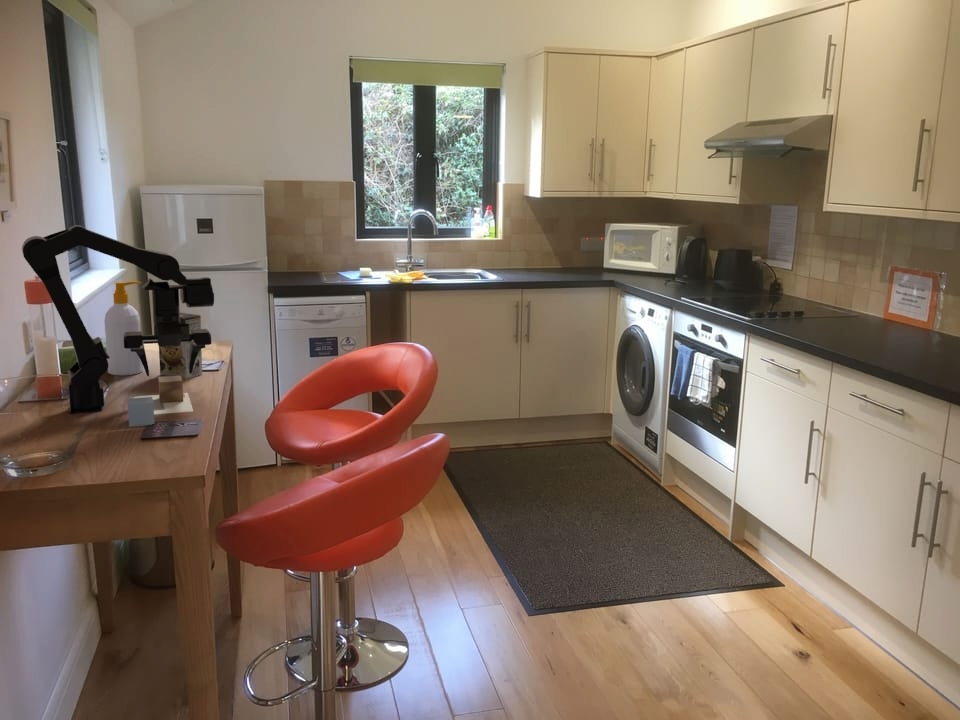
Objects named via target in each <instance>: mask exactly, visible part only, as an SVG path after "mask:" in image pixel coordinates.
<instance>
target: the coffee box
mask: <svg viewBox="0 0 960 720" xmlns="http://www.w3.org/2000/svg"><path fill="white" fill-rule="evenodd" d="M184 323H188V324H189V333H191V330H192V329H202V324H201V323H202V321H201V315H200V314H193V313H186V312H180V324H184ZM190 342H192V341H187V342H181V345H180V346H165V347H160V346H158V355H159V356H158V357H159V358H158V359H159V375H161V376H164V377H166V376H181V378H182V379H190V378H195V377H199V376H202V375H203V357H202V351H203V350H202V349H201V350H200V351H199V353H198V355H197V357H196V360H195V363H194V367H193V370H192V373H191V374H189V356H190ZM201 374H202V375H201ZM198 375H199V376H198Z"/></svg>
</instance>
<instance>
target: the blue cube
mask: <svg viewBox="0 0 960 720" xmlns="http://www.w3.org/2000/svg"><path fill="white" fill-rule="evenodd" d="M126 400H127V401H126V402H127V403H126V404H127V417H128V418H127V419H128V427H140V426H141V427H143V426H151V425H152V424H154V425H155V414H154V407H153V399H152V397H144V398H134V397H132V398H126Z"/></svg>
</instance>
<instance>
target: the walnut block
mask: <svg viewBox="0 0 960 720" xmlns="http://www.w3.org/2000/svg"><path fill="white" fill-rule="evenodd" d="M157 378H158V395H159V398H160V403H169V402H182V401H183V393H184V388H183V385H184V384H183V378H181V376H158V377H157Z"/></svg>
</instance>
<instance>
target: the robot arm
mask: <svg viewBox="0 0 960 720" xmlns="http://www.w3.org/2000/svg"><path fill="white" fill-rule="evenodd" d="M78 246H81V247H84V248H87V249H90V250H92V251H94V252H95V251H96V252H98V253H102V254H104V255H107V256H110V257H113V258H115V259H117V260H120V261H123V262H126V263H129V264H132V265H134V266H136V267H138V268H139V269H141V270H143V271H145V272H146V273H149V274H150V275H152V276H153V277H156V278H157V279H159V280H161V281H154V280H153V279H152V278H151V277H150V278H148V279H147V281H146V282H145V283H144V284H143V285H142V286H141V287H142V289H143V290H145V291H151V298H152V301H151V302H152V316H153V317H152V318H153V334H147V335H146V334H143V333H142V331H141V332H125V333H124V335H123V338H124V348H126V349H129V348H130V350H131V352H136V353H137V355H138V356H139V358H140V360H141V362H142V364H143V370H144V372H145V374H146V376H147V377H150V369H149V363H148V358H147V354H146V349H145V344H157V346H158V347H159V346H160V347H165V346H180V345H181V342H187V341H192V342H190V356H189V374H191V373H192V370H193V367H194V363H195V360H196V357H197V355H198V353H199V351H200V350H201V351H202V349H206V346H209V345H212V336H211V332H210V331H209V330H208V329H207V328H201V329H192V330H191V333H189V324H188V323H184V324H180V313H181V310H180V302H181V304H185V306H186V308H188V309H189V308H203V307H205V308H206V307H208V308H209V307H213V306H214V304H215V293H214V290H213V289H214V288H213V285H212V279H211V277H209V276H204V277H203V276H202V277H200V278H187V276H185V274H183V273H182V272H181V270H180V264H179V261H178V260H177V259H176V258H175V257H174V256H173V255H170V254H168V253H167V252H161V251H157V250H152V249H148V248H147V249H145V248H139V247H135V246H133V245H131V244H128V243H126V242H123V241H120V240H117V239H114V238H111V237H108V236H106V235H103V234H102V233H101V234H100V233H98V232H95V231H92V230H89V229H87V228H86V227H84V226H83V225H79V224H75V225H72V226H70V227H68V228H67V229H64V230H60V231H57V232H54V233H51V234H48V235H46V236H41V235H40V236H39V235H34V236H30V237H28V238H26V240H25V241H23V243H22V246H21V252H22V256H23V258H24V259H25V261H26V262H27V263H28V265H29V266H30V267H31V269H32V270H33V272H34V273H35V274H36V276H37V277H38V278H39V280H40V281H41V282H42V283H43V285H44V287H45V289H46V291H47V292H48V295H49V297H50V299H51V301H52V302H53V305H54V307H55V309H56V311H57V313H58V315H59V317H60V319H61V321H62V323H63V325H64V327H65V329H66V331H67V332H68V335H69V338H70V340H71V342H72V347H73V350H74V351H73V352H74V354H75V357H76V361H75V362H74V364H72V366H70V367H69V369H67V374H68V376H69V379H70V380H69V381H68V383H67V384H68V385H67V386H68V397H69V398H68V399H69V414H80V413H82V414H83V413H90V412H93V413H94V412H102V411H103V407H105V395H104V394H105V393H104V392H105V391H104V386H103V385H101V377H102V376H103V375H105V374H106V373H107V372H108V361H107V359H109V358H110V357H109V355H108V354H107V351H106V350H105V348H104V344H103V342H102V340H101V338H100V336H97V337H96V338H93V337H92V336H91V335H90V333H89V331H88V330H87V328H86V326H85V324H84V322H83V319H82V317H81V315H80V314H79V312H78V309H77V308H76V306H75V304H74V302H73V299H72V297H71V295H70V293H69V291H68V289H67V287H66V285H65V283H64V281H63V278H62V277H61V276H62V275H61V273H60V268H59V264H58V260H57V256H59V255H61V254H64V253H66V252H68V251H70V250H73V249H74V248H76V247H78ZM168 281H172V282H174V283H175V284H169V282H168ZM179 292H180V293H179Z"/></svg>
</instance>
